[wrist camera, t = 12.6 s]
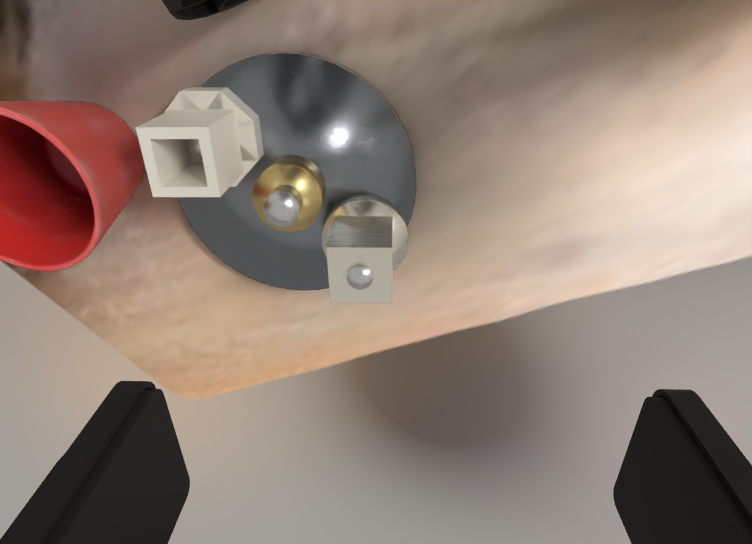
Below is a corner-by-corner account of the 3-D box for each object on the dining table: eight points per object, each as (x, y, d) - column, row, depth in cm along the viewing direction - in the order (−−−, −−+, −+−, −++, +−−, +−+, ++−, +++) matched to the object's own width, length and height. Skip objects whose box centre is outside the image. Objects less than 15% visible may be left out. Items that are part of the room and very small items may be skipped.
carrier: (419, 50, 34) (425, 64, 26) (412, 284, 43) (416, 343, 36) (152, 53, 34) (85, 68, 27) (202, 282, 44) (163, 340, 36)
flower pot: (67, 224, 42) (-18, 282, 33) (-2, 91, 36) (-123, 119, 28) (183, 207, 40) (126, 262, 32) (129, 67, 35) (44, 89, 27)
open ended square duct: (255, 87, 34) (224, 106, 28) (267, 179, 38) (241, 214, 31) (160, 87, 34) (110, 106, 28) (180, 179, 38) (139, 214, 32)
